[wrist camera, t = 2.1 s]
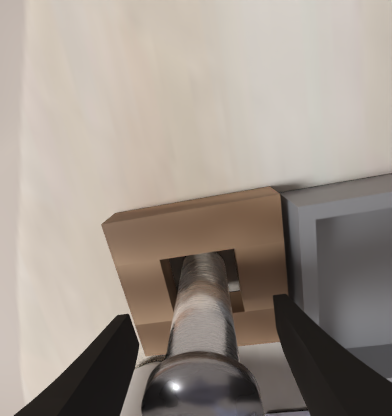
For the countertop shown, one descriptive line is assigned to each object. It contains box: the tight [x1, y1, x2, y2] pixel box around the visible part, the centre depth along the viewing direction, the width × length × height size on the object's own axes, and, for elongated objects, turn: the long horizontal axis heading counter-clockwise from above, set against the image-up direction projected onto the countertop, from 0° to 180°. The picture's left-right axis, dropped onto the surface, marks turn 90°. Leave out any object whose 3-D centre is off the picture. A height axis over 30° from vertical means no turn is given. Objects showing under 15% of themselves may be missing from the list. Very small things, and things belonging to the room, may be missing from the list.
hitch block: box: [101, 186, 289, 356], centre depth 14 cm, size 10×10×2 cm
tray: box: [279, 174, 392, 382], centre depth 14 cm, size 13×11×3 cm
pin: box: [141, 252, 263, 416], centre depth 11 cm, size 4×4×9 cm
